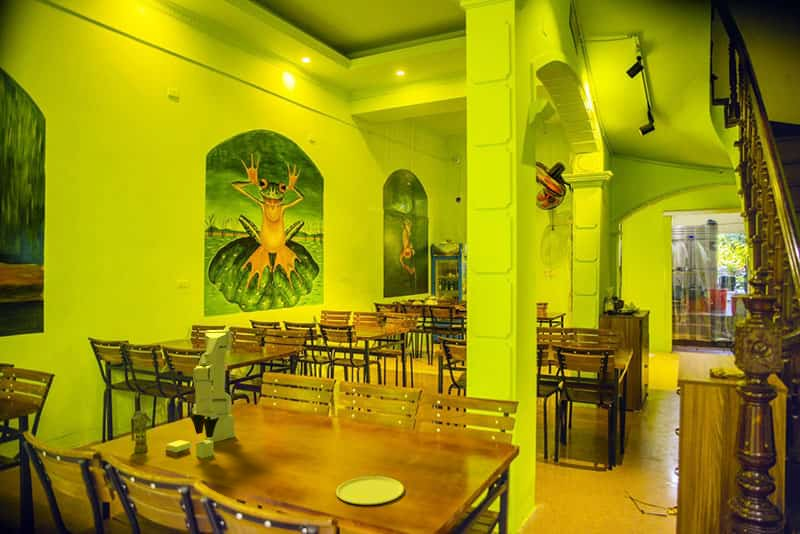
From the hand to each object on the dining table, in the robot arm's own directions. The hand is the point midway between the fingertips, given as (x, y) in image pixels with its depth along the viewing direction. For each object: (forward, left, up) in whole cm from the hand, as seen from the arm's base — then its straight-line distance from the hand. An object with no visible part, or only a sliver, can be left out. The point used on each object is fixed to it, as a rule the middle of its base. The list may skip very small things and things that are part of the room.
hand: (204, 435), depth 202 cm
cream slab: (+5, -11, -6) cm, 14 cm away
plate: (-16, +71, -8) cm, 73 cm away
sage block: (0, 0, -8) cm, 8 cm away
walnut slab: (+5, -11, -8) cm, 15 cm away
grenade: (+13, -25, -8) cm, 29 cm away
